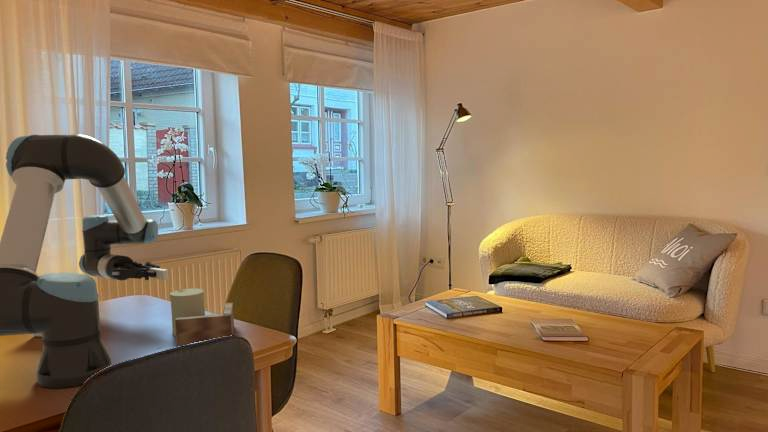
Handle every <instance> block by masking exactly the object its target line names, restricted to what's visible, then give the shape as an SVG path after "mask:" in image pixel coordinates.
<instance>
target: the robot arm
mask: <svg viewBox="0 0 768 432" xmlns="http://www.w3.org/2000/svg"><path fill="white" fill-rule="evenodd" d="M5 160H6V163H5V167H6V170H7V174H9V176H10V177H11V180H12V182H13V183H14V185H16V186H15V189H14V193H13V195H12V200H11V202H10V203H11V204H10V206H9V210H8V213H7V217H6V220H5V223H4V227H3V230H2V233H1V238H0V337H2V336H15V335H16V336H17V335H30V334H31V335H33V334H36V333H42V337H41V338H42V351H41V355H40V359H39V361H38V366H37V370H36V374H35V375H36V383H37V385H38V386H40V387H42V388H48V389H63V388H65V389H66V388H72V387H77V386H83V385H84V384H83V383H84V382H85V381H86V380H87V379H88V378H90V377H91V376H92V375H94V374H95V373H97V372H99V371H100V370H102V369H104V368H106V367H108V366H110V365H111V366H112V360H111V358H110V356H109V353H108V351H107V348H106V347H105V345H104V342H103V340H102V335H101V323H100V308H99V298H100V295H99V293H98V289H97V288H98V287H97V282H96V280H95V278H93V277H99V278H105V279H110V280H111V281H114V280H117V281H126V280H128V279H139V280H140V279H143V278H144V280H145V281H149V280H150V279H157V280H163V281H165V280H168V279H169V270H168V269H167V268H166V269H165V268H161V267H160V266H161V265H158V264H154V263H151V262H150V261H146V262H144V264H142V263H141V262H140V263H138V262H137V261H134V260H133V259H132V257H130V256H127V255H120V254H114V253H113V254H112V251H111V249H112V248H111V247H112V245H114V246H115V245H137V244H139V245H140V244H142V245H145V244H150V243H151V244H154V243H155V242H156V241H157V240H158V236H159V227H158V226H159V225H158V222H157V221H156V220H154V219H150V218H147V219H146V218H145V216H144V214H143V212H142V209H141V208H140V206H139V204H138V202H137V199H136V198H135V195H134V193H133V191H132V189H131V187H130V186H129V183H128V181H127V179H126V177H125V176H126V175H125V174H126V169H125V166H124V164H123V162H122V160H121V159H120V158H119V156H118V155H117V154H116V153H115V152H114V151H113V150H112V149H111V148H110V147H108V145H106V144H104V143H103V142H101V141H100V140H98V139H96V138H94V137H91V136H89V135H85V134H78V133H77V134H76V133H73V134H42V135H41V134H30V135H21V136H18V137H16V138H14V139H13V140H12V141H11V143H10V144H9V146H8V148H7V150H6V155H5ZM78 179H79V180H86V181H88V182H89V183H90V184H91V185H92V186H93V187H95V188H97V189H98V191H99V192H100V194H101V195H102V198H103V199H104V201H105V203H106V204H107V206H108V207H109V210H110V211H111V213H112V215H113V216H114V218H115V220H110V219H109V216H108V215H107V214H94V215H93V214H92V215H87V216H84V217H83V218H82V237H83V238H82V239H83V249H84V253H83V254H82V255H81V256H80V258H79V261H78V266H79V269H80V271H81V272H82V273H78V272H77V273H76V272H57V273H56V272H50V273H44V274H41V275H40V276H39V275H38V274H37V269H38V265H39V261H40V257H41V253H42V248H43V244H44V240H45V235H46V231H47V227H48V225H49V224H48V223H49V219H50V215H51V210H52V208H53V204H54V198H55V196H56V195H55V194H58V193H59V192H61V191H62V190H63V189H64V185H65V181H66V180H78ZM82 384H83V385H82Z"/></svg>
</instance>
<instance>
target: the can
mask: <svg viewBox="0 0 768 432" xmlns="http://www.w3.org/2000/svg"><path fill="white" fill-rule="evenodd" d="M169 297H170V307H171V308H170V309H171V324H172V327H171V328H172V332H171V333H172V334H171V335H172V336H174V337H176V322H175V319H176V318H179V317H192V316H205V315H206V311H205V310H206V309H205V307H206V306H205V290H204V289H202V288H197V287H196V288H193V287H191V288H190V287H189V288H183V289H182V288H181V289H178V290H177V289H176V290H173V291H172V292H170V293H169Z"/></svg>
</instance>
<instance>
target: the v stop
mask: <svg viewBox="0 0 768 432" xmlns="http://www.w3.org/2000/svg"><path fill="white" fill-rule="evenodd" d="M175 322H176V336H175V338H176V347H178V346H180V345H181V346H186V345H185V344H190V343H194V342H199V341H204V340H209V339H213V338H218V337H223V336H230V335H233V336H234V329H235V323H234V322H235V319H234V304H233V302H226V303H225V305H224V309H223V313H220V314H219V313H218V314H207V315H206V314H205V316H192V317H179V318H176V319H175Z"/></svg>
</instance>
